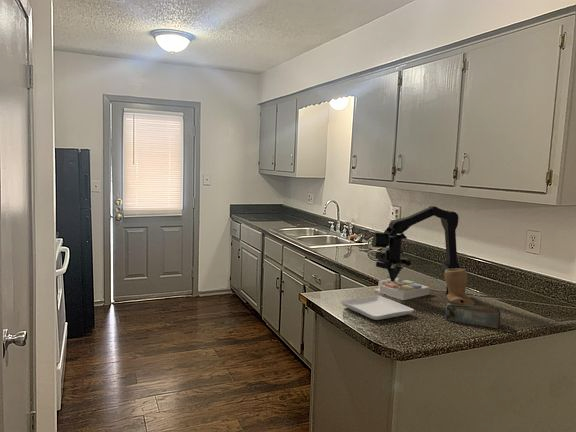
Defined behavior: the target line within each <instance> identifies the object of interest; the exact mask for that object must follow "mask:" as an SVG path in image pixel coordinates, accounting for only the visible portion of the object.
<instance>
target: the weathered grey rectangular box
mask: <svg viewBox="0 0 576 432" xmlns="http://www.w3.org/2000/svg"><path fill="white" fill-rule="evenodd" d="M445 311H446V312H445V320H446V321H449V322H453V323H454V322H455V323H459V324H465V325H466V324H467V325H472V326H478V325H479V327H485V326H486V327H487V328H492V329H499V328H500V322H501V310H500V308H497V307H493V306H481V305H476V304H474V305H468V304H461V303H455V302H450V301H448V302H447V305H446V309H445Z"/></svg>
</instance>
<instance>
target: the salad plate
mask: <svg viewBox="0 0 576 432" xmlns="http://www.w3.org/2000/svg"><path fill="white" fill-rule="evenodd" d="M340 303H341V305H342V306H343V307H345V308H347V309H348V310H351V311H353V312H355V313H357V314H359V313H360V315H361V316H364V317H366V318H369V319H371V320H375V321H379V320H380V321H381V320H385V319H392V318H396V317H397V318H398V317H401V316H402V317H403V316H406V315H409V314H412V313H413V312H414V311H415V309H414V308H412V307H410V306H407V305H404V304H402V303H399V302H397V301H395V300H392V299H389V298H386V297H384V296H381V295H379V294H377V295H369V296H362V297H356V298H349V299H343V300H340Z"/></svg>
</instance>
